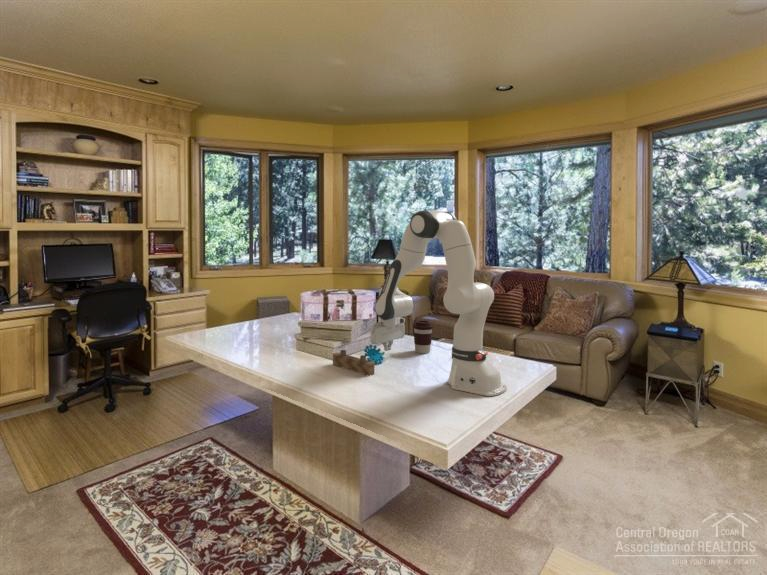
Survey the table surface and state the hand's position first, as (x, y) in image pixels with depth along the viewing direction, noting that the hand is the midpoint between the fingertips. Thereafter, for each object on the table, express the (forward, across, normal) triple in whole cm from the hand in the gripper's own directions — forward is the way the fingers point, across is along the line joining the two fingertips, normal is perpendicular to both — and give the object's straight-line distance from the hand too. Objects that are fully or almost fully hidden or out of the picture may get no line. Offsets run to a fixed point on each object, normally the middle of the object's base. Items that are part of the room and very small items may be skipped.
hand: (387, 350), depth 205 cm
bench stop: (+4, -22, 0) cm, 22 cm away
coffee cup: (+4, +22, -4) cm, 22 cm away
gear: (+4, -8, 0) cm, 9 cm away
